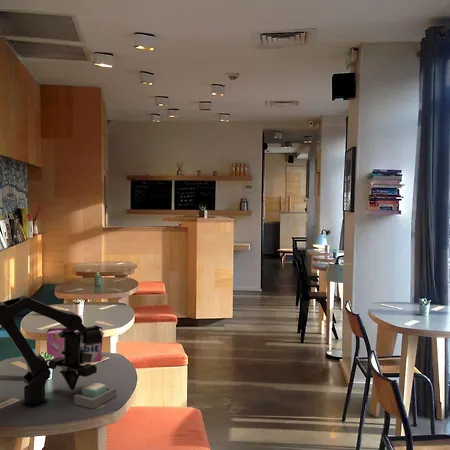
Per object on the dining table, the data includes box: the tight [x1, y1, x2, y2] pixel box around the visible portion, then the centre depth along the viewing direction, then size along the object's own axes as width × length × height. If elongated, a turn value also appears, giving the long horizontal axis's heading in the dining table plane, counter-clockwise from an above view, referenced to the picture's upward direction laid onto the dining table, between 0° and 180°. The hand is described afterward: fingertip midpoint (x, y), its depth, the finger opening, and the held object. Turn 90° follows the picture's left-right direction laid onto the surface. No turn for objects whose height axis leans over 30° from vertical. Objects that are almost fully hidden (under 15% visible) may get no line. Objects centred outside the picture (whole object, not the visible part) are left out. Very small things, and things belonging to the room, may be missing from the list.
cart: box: [82, 381, 108, 398], centre depth 192 cm, size 7×6×5 cm
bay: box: [73, 385, 117, 410], centre depth 192 cm, size 12×8×3 cm
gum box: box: [45, 326, 105, 363], centre depth 236 cm, size 24×8×14 cm, turn 100°
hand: (72, 389), depth 197 cm, fingers closed
